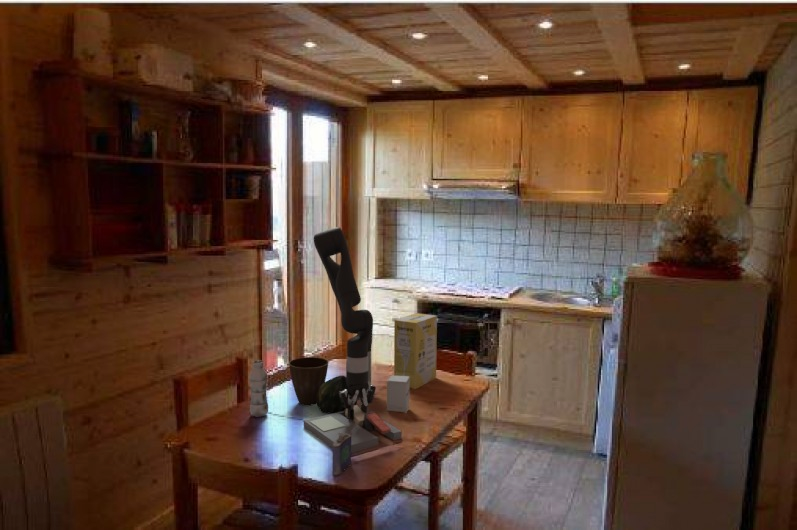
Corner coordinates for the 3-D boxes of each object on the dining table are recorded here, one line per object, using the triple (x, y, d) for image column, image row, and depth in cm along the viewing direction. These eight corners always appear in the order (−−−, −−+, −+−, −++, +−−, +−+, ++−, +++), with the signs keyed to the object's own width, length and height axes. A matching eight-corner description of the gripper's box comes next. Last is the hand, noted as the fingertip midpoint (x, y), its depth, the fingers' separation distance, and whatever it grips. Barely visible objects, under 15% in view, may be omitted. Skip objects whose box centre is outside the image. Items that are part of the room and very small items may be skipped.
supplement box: (406, 415, 205) (406, 382, 204) (386, 414, 206) (386, 380, 205) (409, 408, 212) (410, 376, 211) (390, 407, 214) (390, 374, 212)
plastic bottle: (272, 413, 206) (271, 360, 204) (260, 420, 200) (259, 365, 198) (258, 411, 209) (257, 358, 206) (246, 417, 203) (244, 363, 200)
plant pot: (324, 394, 227) (324, 355, 226) (332, 407, 213) (331, 365, 211) (287, 398, 223) (286, 358, 221) (292, 411, 209) (291, 369, 207)
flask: (338, 477, 159) (338, 440, 158) (329, 475, 160) (329, 438, 159) (353, 463, 167) (352, 428, 166) (344, 461, 168) (344, 427, 167)
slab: (345, 414, 195) (346, 407, 194) (355, 412, 197) (356, 404, 196) (358, 429, 188) (359, 421, 187) (368, 426, 191) (370, 418, 190)
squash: (310, 392, 214) (318, 370, 203) (348, 388, 220) (357, 367, 209) (317, 426, 205) (325, 405, 195) (356, 422, 211) (366, 401, 201)
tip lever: (341, 415, 196) (344, 395, 193) (355, 412, 199) (358, 392, 196) (375, 453, 179) (379, 432, 176) (390, 449, 182) (393, 428, 179)
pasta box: (415, 373, 256) (416, 313, 253) (436, 377, 250) (437, 315, 247) (394, 384, 240) (394, 320, 237) (415, 389, 235) (416, 322, 232)
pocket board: (303, 431, 190) (303, 419, 190) (359, 417, 203) (359, 406, 203) (342, 459, 169) (342, 446, 169) (401, 442, 182) (401, 430, 182)
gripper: (344, 375, 183) (344, 425, 185) (381, 367, 192) (380, 416, 193) (333, 369, 189) (333, 418, 191) (369, 362, 198) (369, 410, 199)
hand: (357, 417), depth 192 cm, fingers closed on slab, 4 cm apart
